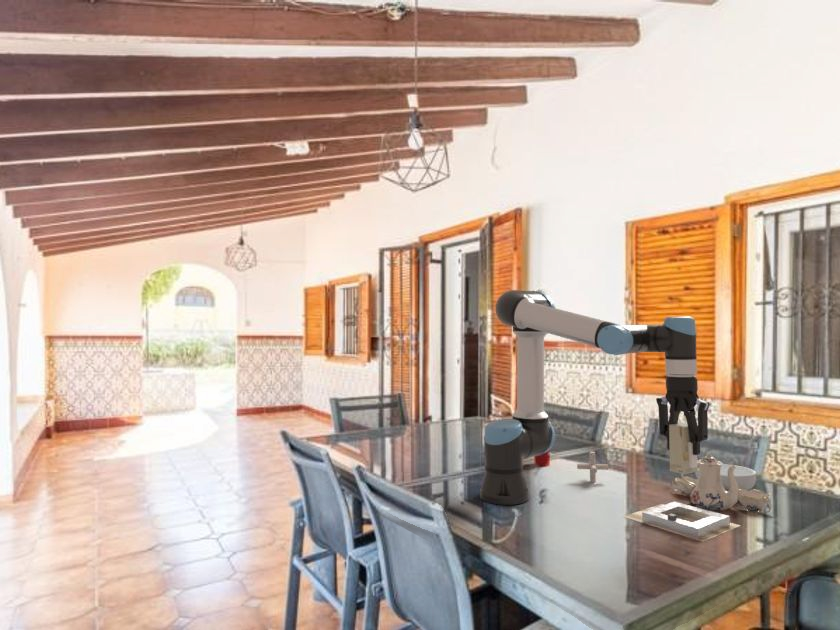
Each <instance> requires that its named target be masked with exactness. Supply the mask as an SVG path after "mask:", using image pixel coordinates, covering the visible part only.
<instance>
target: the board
mask: <svg viewBox="0 0 840 630" xmlns="http://www.w3.org/2000/svg"><path fill="white" fill-rule="evenodd" d="M662 505H665V504H664V503H660V504H657V505H654V506H651V507H648V508H644V509H642V510H639V511H635V512H632V513H630V514H627V515H623V516H622V517H623V518H626V519H629V520H633V521H636V522H638V523H643V524H645V525H649V526H651V527H655V528H658V529H661V530H664V531H666V532H667V531H668V532H670V533H673V534H674V533H675V534H677V535H680V536H683V537H687V538H689V539H693V540H696V541H699V542H706V541H709V540H711V539H713V538H716V537H718V536H720V535H722V534H725V533H728V532H730V531H731V530H735V529H737V528H739V527H741V526H742V525H740V524H736V523H734V522H730V526H728V527H726V528H724V529H721V530H719V531H717V532H714V533H712V534H709V535H707V536H705V537H702V538H700V539H696V538H693V537H689V536H686V535H683V534H680V533H677V532H674V531H670V530H667V529H664V528H661V527H658V526H654V525H651V524H648V523H645V522H642V512H644V511H647V510H650V509H653V508H656V507H659V506H662ZM677 518H678V519H682V520H685V521H689V522H692V523H693V522H696V520H692V519H689V518H685V517H682V516H677Z"/></svg>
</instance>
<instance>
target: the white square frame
mask: <svg viewBox="0 0 840 630" xmlns="http://www.w3.org/2000/svg"><path fill="white" fill-rule="evenodd" d="M677 516H682V517H685V518H689V519H692V520H696V522H693V523H692V522H689V521H685V520H682V519H678V518H677ZM642 522H645V523H648V524H651V525H654V526H658V527H661V528H664V529H667V530H670V531H674V532H677V533H680V534H683V535H686V536H689V537H693V538H696V539H700V538H702V537H705V536H707V535H709V534H712V533H714V532H717V531H719V530H721V529H724V528H726V527H728V526H730V523H731V519H730V515H726V514H723V513H719V512H717V511H713V510H706V509H702V508H699V507H697V506H692V505H689V504H685V503H682V502H678V501H672V502H669V503H665V504H664V505H662V506H659V507H656V508H653V509H650V510H647V511H644V512H642ZM642 522H641V523H642ZM645 523H644V524H645ZM648 524H647V525H648ZM651 525H650V526H651ZM654 526H653V527H654ZM658 527H657V528H658ZM661 528H660V529H661ZM664 529H663V530H664ZM667 530H666V531H667ZM670 531H669V532H670ZM674 532H673V533H674ZM677 533H676V534H677ZM680 534H679V535H680ZM683 535H682V536H683ZM686 536H685V537H686ZM689 537H688V538H689ZM693 538H692V539H693ZM696 539H695V540H696Z"/></svg>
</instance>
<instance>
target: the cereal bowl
mask: <svg viewBox="0 0 840 630" xmlns="http://www.w3.org/2000/svg"><path fill="white" fill-rule="evenodd" d="M733 465H734V466H737V467H736V468H735V469H734V471H733V474H734V477H735V480H736V483H737V485H738V488H739V489H745V490H748V491H749V490H752V488H753V487H754V486H755V484H756V482H757V471H755V470H754V469H752V468H749V467H746V466H742V465H741V466H740V465H736V464H727V463H722V464H721V469H720V476H721V482H722V485H723V487H724V489H725V491H729V482H728V469H729V467H731V466H733ZM694 474H695V477H696V479H698V478H699V468H698V471H696V472H694Z"/></svg>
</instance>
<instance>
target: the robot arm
mask: <svg viewBox="0 0 840 630" xmlns="http://www.w3.org/2000/svg"><path fill="white" fill-rule="evenodd" d="M494 309H495V315H496V317H497V319H498V320H499V321H500V323H502V324H504V325H505V326H508V327H512V333H513V334H514V335H515V336H516V338H517V340H516V341H517V357H516V361H517V364H516V365H517V368H516V370H517V371H516V373H517V374H516V375H517V376H516V378H517V379H516V381H517V382H516V383H517V384H516V385H517V387H516V389H517V390H516V391H517V393H516V401H517V402H516V410H515V411H514V412H513V413H512V416H511V417H512V418H504V419H496V420H492V421H491V422H488V423H487V424H486V425H485V427H484V435H483V441H484V471H485V472H484V475H483V479H482V482H481V487H480V488H479V499H480V500H482V501H483V500H484V501H483V502H485V501H486V503H488V502H489V503H490V504H492V503H493V505H500V506H509V505H510V506H512V505H520V504H523V503H526V502H528V501H529V499H530V490H529V488H528V485H527V481H526V479H525V476H524V469H523V467H524V465H523V461H524V460H526V459H530V458H533V457H534V456H539V455H542V454H543V453H546V452H547V451H549V450H550V451H551V449H552V447H553V446H554V444H555V440H556V432H555V429H554V427H553V426H552V423H551V422H550V421H549V414H548V413H547V412H546V411H545V410H544V408H545V405H544V402H545V401H544V400H545V399H544V396H545V395H544V394H545V392H544V391H545V387H544V386H545V385H544V384H545V383H544V382H545V337H546V336H547V335H548V334H550V335H553V336H556V337H560V338H562V339H563V338H564V339H567V340H570V341H574V342H577V343H581V344H583V345H588V346H590V347H594V348H598V349H601V351H603V353H606V354H608V355H615V356H620V355H625V354H636V353H664V366H665V368H664V370H665V371H664V373H665V374H666V375H667V376H665V388H666V393H665V396H662V397H657V398H656V399H655V401H656V404H657V407H658V424H659V426H658V427H659V428H658V429H659V434H660V435H661V436H664V437H666V445H667V450H668V451H670V445H669V425H671V424H677V423H679V417H680V414H681V413H682V412H683V415H684V416H685V420H686V423H687V425H688V429H689V433H690V437H691V440H690V442H688V451H689V468H694V467H698V465H697V460H698V455H701V442H703V441H707V440H708V437H709V435H708V434H709V433H708V430H709V429H708V428H709V427H708V426H709V425H708V410H709V408H710V402H709V401H704V400H702V399H700V396H699V395H698V386H699V385H698V384H699V383H698V377H697V376H695V375H697V374H698V362H697V361H698V360H697V358H698V357H697V336H698V335H697V328H696V320H695V319H694V317H692V316H668V317H667V316H666V317H665V318H664V320H663V324H619V323H615V322H611V321H607V320H603V319H600V318H594V317H590V316H587V315H583V314H581V313H580V314H579V313H575V312H571V311H568V310H563V309H561V308H556V305H555V302H554V300H553V299H552V298H551V296H549V295H548V294H546V293H545V292H543V291H538V290H519V289H518V290H517V289H512V290H507V291H506V292H503V293H502V294H501V295H500V296H499V297H498V298H497V300H496V303H495V308H494ZM668 404H669V405H670V406H669V407H668ZM696 405H697V406H696ZM695 407H696V408H697V418H696V410H695Z"/></svg>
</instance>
